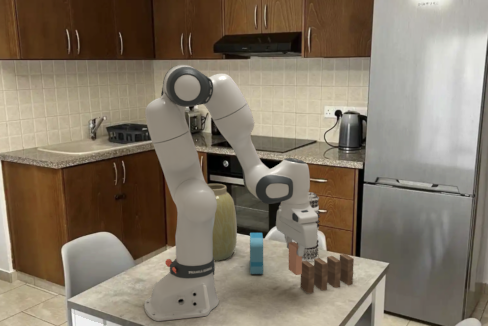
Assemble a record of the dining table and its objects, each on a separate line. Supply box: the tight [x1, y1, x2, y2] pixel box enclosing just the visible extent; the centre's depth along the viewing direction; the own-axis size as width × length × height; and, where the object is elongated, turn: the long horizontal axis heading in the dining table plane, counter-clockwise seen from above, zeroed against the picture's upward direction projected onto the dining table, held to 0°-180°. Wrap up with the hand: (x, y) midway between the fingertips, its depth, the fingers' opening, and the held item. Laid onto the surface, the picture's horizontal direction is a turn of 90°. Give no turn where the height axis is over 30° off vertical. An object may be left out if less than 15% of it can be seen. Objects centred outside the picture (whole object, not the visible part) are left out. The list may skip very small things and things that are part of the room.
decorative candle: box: [296, 191, 321, 263], centre depth 185 cm, size 9×9×25 cm
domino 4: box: [326, 255, 341, 289], centre depth 163 cm, size 2×5×9 cm, turn 23°
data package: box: [249, 232, 264, 275], centre depth 176 cm, size 12×4×12 cm, turn 0°
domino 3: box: [313, 257, 328, 291], centre depth 161 cm, size 2×5×9 cm, turn 23°
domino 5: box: [339, 253, 355, 286], centre depth 165 cm, size 2×5×9 cm, turn 23°
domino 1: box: [288, 241, 302, 276], centre depth 156 cm, size 2×5×9 cm, turn 23°
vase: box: [207, 183, 238, 262], centre depth 188 cm, size 17×17×27 cm
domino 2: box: [300, 260, 315, 294], centre depth 159 cm, size 2×5×9 cm, turn 24°
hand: (294, 252), depth 156 cm, fingers closed on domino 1, 5 cm apart
